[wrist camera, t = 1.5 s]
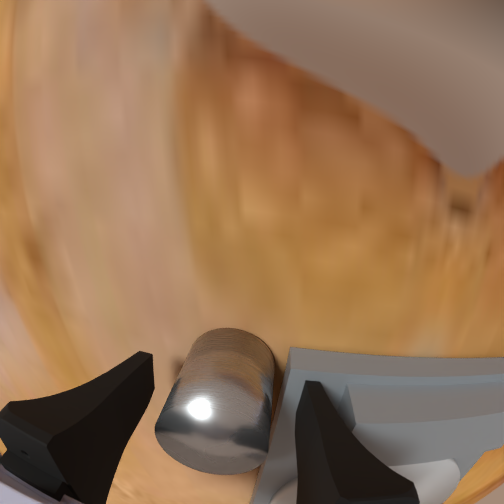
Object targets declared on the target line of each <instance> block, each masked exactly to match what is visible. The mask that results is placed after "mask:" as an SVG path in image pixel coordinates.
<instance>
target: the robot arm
mask: <svg viewBox="0 0 504 504" xmlns="http://www.w3.org/2000/svg"><path fill="white" fill-rule="evenodd" d="M154 389H155V386H154V372H153V355H152V354H150V353H146V352H142V351H139V352H137V353H136V354H134V355H133V356H131V357H130V358H128V359H127V360H125V361H124V362H122V363H121V364H119V365H117V366H116V367H114V368H113V369H111V370H109V371H108V372H106V373H104V374H102V375H101V376H99V377H97V378H95V379H93V380H91V381H90V382H87V383H85V384H83V385H81V386H78V387H76V388H73V389H71V390H68V391H65V392H62V393H58V394H55V395H52V396H47V397H43V398H38V399H32V400H23V401H10V402H9V403H8V404H7V405H6V406H5V407H4V408H3V409H2V410H1V411H0V438H1V440H2V441H3V443H4V445H5V446H6V448H7V451H6V452H5V453H4V454H3V456H2V455H1V453H0V504H106V501H107V497H108V494H109V490H110V487H111V484H112V481H113V478H114V475H115V472H116V469H117V467H118V464H119V461H120V459H121V456H122V454H123V451H124V449H125V447H126V445H127V443H128V441H129V439H130V437H131V435H132V434H133V432H134V430H135V428H136V427H137V425H138V423H139V421H140V419H141V418H142V416H143V414H144V412H145V410H146V409H147V407H148V404H149V402H150V399H151V397H152V394H153V391H154ZM295 446H296V459H297V474H298V484H297V500H296V504H420V501H419V497H418V493H417V490H416V488H415V485H414V483H413V482H412V481H410V480H409V479H407V478H405V477H403V476H402V475H400V474H398V473H396V472H395V471H393V470H392V469H391V468H389V467H388V466H386V465H385V464H384V463H382V462H381V461H380V460H379V459H377V458H376V457H375V456H374V455H373V454H372V453H371V452H369V451H368V450H367V449H366V448H365V447H364V446H363V445H362V444H361V443H360V441H359V440H358V439H357V438H356V437H355V436H354V435H353V433H352V432H351V431H350V429H349V428H348V427H347V425H346V424H345V423H344V421H343V420H342V418H341V417H340V415H339V414H338V412H337V411H336V409H335V408H334V406H333V404H332V402H331V401H330V399H329V397H328V395H327V394H326V392H325V390H324V388H323V386H322V384H321V383H320V381H309V380H305V384H304V387H303V391H302V394H301V397H300V401H299V404H298V407H297V411H296V417H295Z"/></svg>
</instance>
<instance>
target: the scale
mask: <svg viewBox="0 0 504 504" xmlns="http://www.w3.org/2000/svg"><path fill="white" fill-rule="evenodd" d="M305 380H309V381H320V383H321V384H322V386H323V388H324V390H325V392H326V394H327V395H328V397H329V399H330V401H331V402H332V404H333V406H334V408H335V409H336V411H337V412H338V414H339V415H340V417H341V418H342V420H343V421H344V423H345V424H346V425H347V427H348V428H349V429H350V431H351V432H352V433H353V435H354V436H355V437H356V438H357V439H358V440H359V441H360V443H361V444H362V445H363V446H364V447H365V448H366V449H367V450H368V451H369V452H371V453H372V454H373V455H374V456H375V457H376V458H377V459H379V460H380V461H381V462H382V463H384V464H385V465H386V466H388V467H389V468H391V469H392V470H393V471H395V472H396V473H398V474H400V475H402V476H403V477H405V478H407V479H409V480H410V481H412V482H413V483H414V485H415V488H416V490H417V493H418V497H419V501H420V504H442V503H443V502H445V501H446V500H447V499H448V497H449V496H450V495H451V494H452V493H453V491H454V490H455V489H456V487H457V485H458V483H459V481H460V480H461V479H462V478H463V477H464V476H465V475H466V473H467V472H468V471H469V470H470V469H471V468H472V467H473V465H474V464H475V463H476V462H477V461H478V459H479V458H480V457H481V456H482V455H483V453H484V452H485V451H489V450H493V449H497V448H501V447H502V446H503V444H504V357H499V358H422V357H398V356H380V355H366V354H353V353H342V352H331V351H321V350H312V349H303V348H295V347H290V351H289V356H288V360H287V364H286V369H285V373H284V377H283V382H282V386H281V390H280V394H279V398H278V402H277V406H276V410H275V414H274V418H273V422H272V426H271V430H270V439H269V451H268V455H267V458H266V459H265V461H264V462H263V463H262V464H261V466H260V470H259V473H258V477H257V480H256V484H255V487H254V491H253V494H252V497H251V501H250V504H296V500H297V484H298V474H297V459H296V446H295V417H296V411H297V407H298V404H299V401H300V397H301V394H302V391H303V387H304V384H305Z"/></svg>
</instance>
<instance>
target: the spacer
mask: <svg viewBox="0 0 504 504" xmlns="http://www.w3.org/2000/svg"><path fill="white" fill-rule="evenodd" d="M273 382H274V359H273V356H272V353H271V351H270V350H269V348H268V347H267V346H266V344H265V343H264V342H263V341H261V340H260V339H259V338H258V337H256V336H254V335H253V334H250V333H248V332H246V331H243V330H239V329H233V328H220V329H215V330H211V331H208V332H206V333H204V334H203V335H201V336H200V337H199V338H198V339H197V340H196V341H195V342H194V344H193V345H192V347H191V350H190V352H189V354H188V356H187V358H186V360H185V362H184V364H183V366H182V369H181V371H180V373H179V375H178V377H177V379H176V381H175V383H174V386H173V388H172V390H171V392H170V394H169V396H168V398H167V401H166V403H165V405H164V407H163V409H162V411H161V413H160V416H159V418H158V420H157V422H156V424H155V435H156V438H157V441H158V442H159V444H160V446H161V447H162V448H163V449H164V451H165V452H166V453H167V454H169V455H170V456H171V457H172V458H174V459H175V460H177V461H178V462H180V463H182V464H183V465H186V466H188V467H190V468H192V469H195V470H198V471H201V472H206V473H211V474H218V475H234V474H241V473H245V472H248V471H251V470H253V469H255V468H257V467H258V466H260V465H261V464H262V463H263V462H264V461H265V459H266V458H267V455H268V451H269V439H270V426H271V412H272V397H273Z"/></svg>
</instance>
